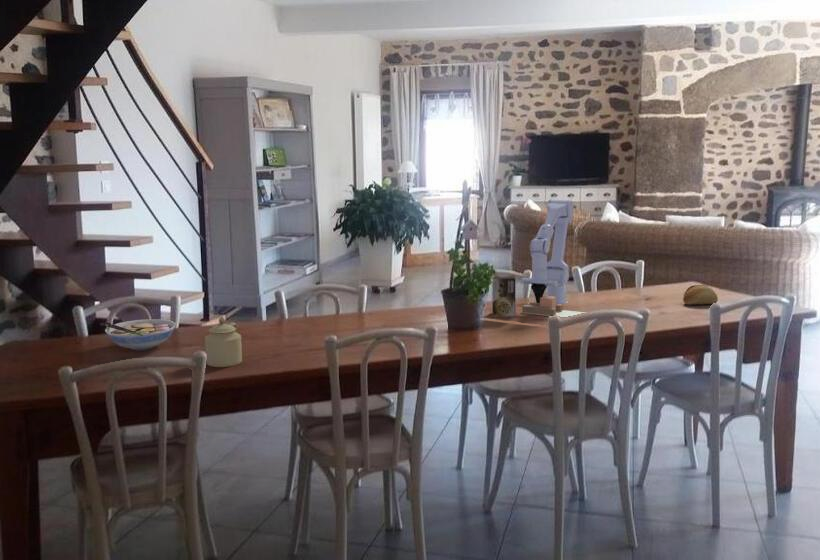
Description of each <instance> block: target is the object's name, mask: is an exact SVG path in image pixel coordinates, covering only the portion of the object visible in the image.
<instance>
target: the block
mask: <svg viewBox="0 0 820 560" xmlns="http://www.w3.org/2000/svg"><path fill="white" fill-rule="evenodd" d="M540 307H549V308H556V297H554V296H547V295H543V296H542V297H540Z"/></svg>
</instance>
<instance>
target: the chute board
mask: <svg viewBox="0 0 820 560" xmlns="http://www.w3.org/2000/svg"><path fill="white" fill-rule="evenodd" d="M521 310H522V312H521V314H529V315H539V316H548V317H551V316H550V315H557V316H560V317H559V318H563V317H568V316H573V315H577V314H581V313H586V312H583V311H573V310H565V309H564V304H556V308H549V307H540V303H536V301H530V302H529V304H524V305H522V309H521Z"/></svg>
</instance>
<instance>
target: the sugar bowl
mask: <svg viewBox="0 0 820 560" xmlns="http://www.w3.org/2000/svg"><path fill="white" fill-rule="evenodd" d="M218 322H219V324H217V325H214V326H212V327H211V328H210V329H208V332H209V334H208V335H206V336H205V338H204V346H205V355H206V354H207V361H206V365H207V366H209V367H212V368H227V367H233V366H238V365H239V364H241V363H242V362H243V352H242V351H243V350H242V347H243V346H242V335H241V334H240V333H238V332H239V331H238V325H237V323H235V322H229V323H228V324H226V323H225V322H226V318H224V316H222V315H221V316H220V317H219V319H218Z"/></svg>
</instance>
